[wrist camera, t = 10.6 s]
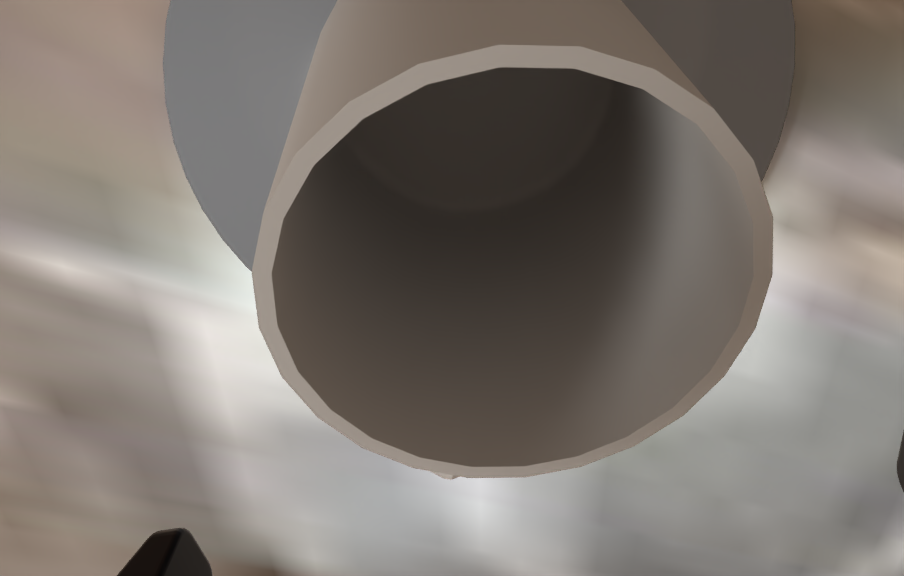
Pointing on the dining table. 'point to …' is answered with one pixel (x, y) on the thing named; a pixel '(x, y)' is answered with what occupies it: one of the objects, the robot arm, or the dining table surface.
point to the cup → (506, 235)
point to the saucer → (293, 45)
